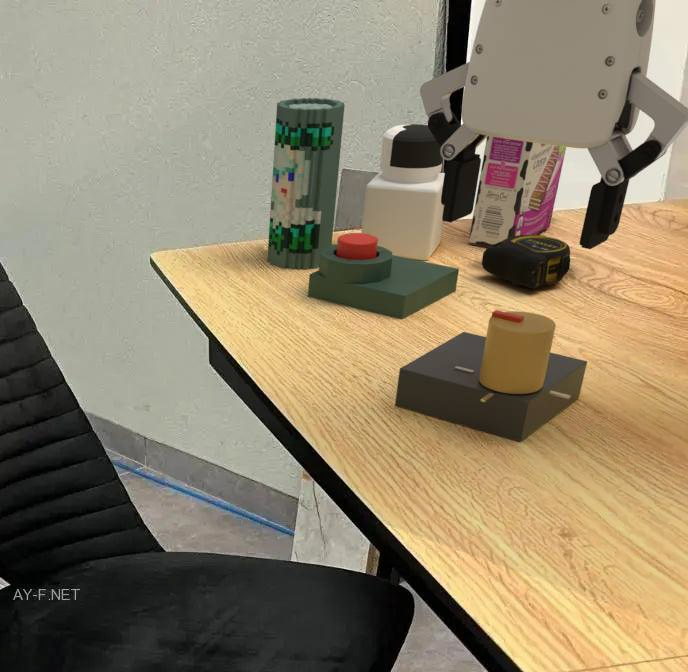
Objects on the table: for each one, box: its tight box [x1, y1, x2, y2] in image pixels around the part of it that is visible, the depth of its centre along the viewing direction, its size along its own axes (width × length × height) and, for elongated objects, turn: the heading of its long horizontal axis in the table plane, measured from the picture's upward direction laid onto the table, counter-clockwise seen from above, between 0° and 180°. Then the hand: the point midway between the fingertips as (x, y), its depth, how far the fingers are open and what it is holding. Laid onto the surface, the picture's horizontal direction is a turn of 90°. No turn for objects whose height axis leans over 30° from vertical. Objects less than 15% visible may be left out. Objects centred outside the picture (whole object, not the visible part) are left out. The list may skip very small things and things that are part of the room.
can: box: [267, 97, 345, 271], centre depth 113 cm, size 6×6×15 cm
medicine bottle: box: [361, 123, 445, 262], centre depth 116 cm, size 7×7×12 cm
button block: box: [307, 243, 460, 320], centre depth 107 cm, size 10×10×4 cm
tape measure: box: [481, 234, 571, 289], centre depth 109 cm, size 7×7×4 cm
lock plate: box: [394, 331, 588, 443], centre depth 84 cm, size 12×12×3 cm
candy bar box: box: [467, 136, 567, 248], centre depth 118 cm, size 11×5×16 cm, turn 141°
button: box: [336, 232, 378, 260], centre depth 105 cm, size 4×4×2 cm
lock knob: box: [479, 309, 557, 394], centre depth 80 cm, size 4×4×5 cm
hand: (522, 230), depth 77 cm, fingers open, 9 cm apart
